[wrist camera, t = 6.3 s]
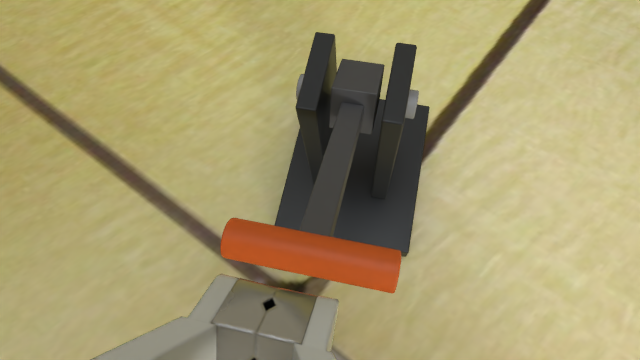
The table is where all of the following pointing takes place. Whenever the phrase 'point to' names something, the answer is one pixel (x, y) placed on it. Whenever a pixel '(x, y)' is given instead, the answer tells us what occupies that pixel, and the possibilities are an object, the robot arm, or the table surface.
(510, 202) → the table surface
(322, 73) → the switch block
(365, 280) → the switch
